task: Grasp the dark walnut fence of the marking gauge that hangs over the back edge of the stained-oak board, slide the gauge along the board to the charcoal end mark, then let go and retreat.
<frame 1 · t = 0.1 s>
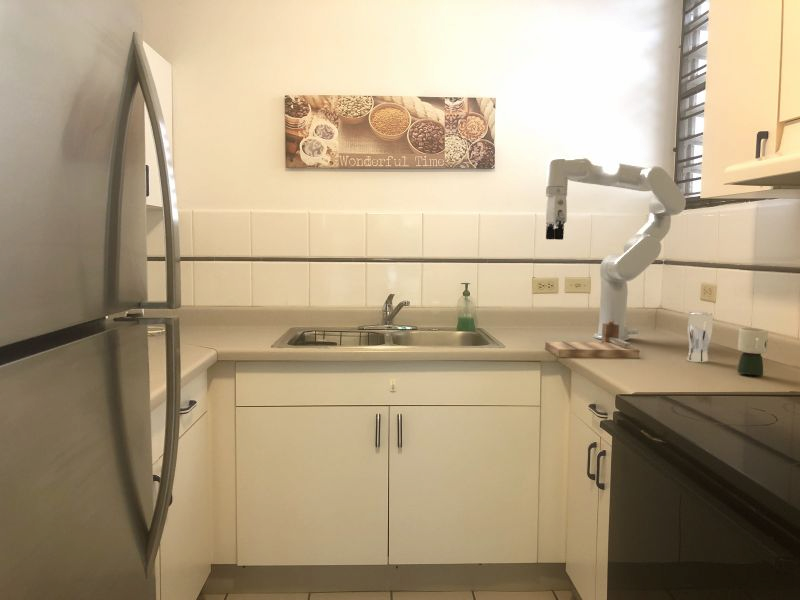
hand: (554, 239, 230), 37 cm above the table, tool pointing down, fingers open, 9 cm apart
oak board: (590, 353, 204), on the table
marking gauge: (617, 337, 206), point 5 cm above the table, slide at 0.0 cm
beer glass: (697, 361, 195), on the table
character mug: (750, 375, 175), on the table
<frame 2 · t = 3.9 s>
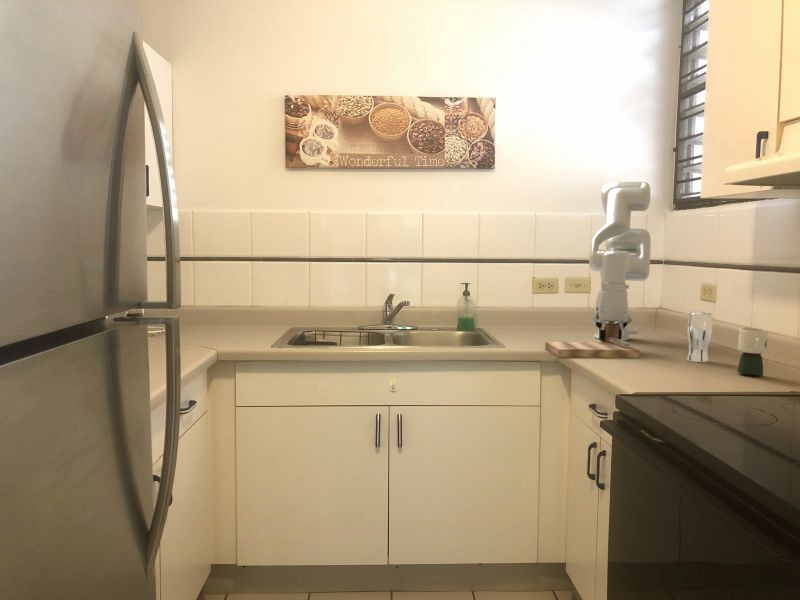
hand: (609, 340, 213), 3 cm above the table, tool pointing down, fingers closed on marking gauge, 4 cm apart
marking gauge: (617, 337, 206), point 5 cm above the table, slide at 0.0 cm, touching gripper
everything else where it was.
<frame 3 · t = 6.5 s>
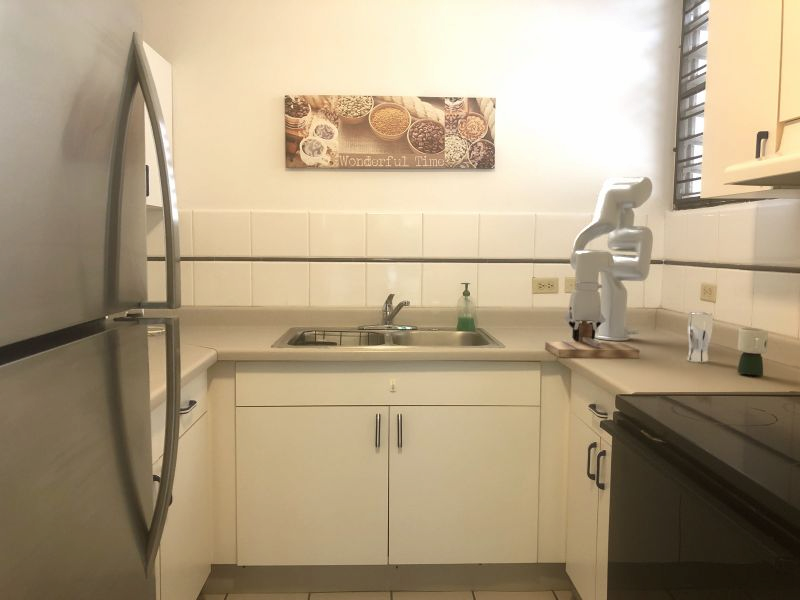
hand: (583, 340, 212), 3 cm above the table, tool pointing down, fingers closed on marking gauge, 4 cm apart
marking gauge: (590, 337, 206), point 5 cm above the table, slide at 9.3 cm, touching gripper
everything else where it was.
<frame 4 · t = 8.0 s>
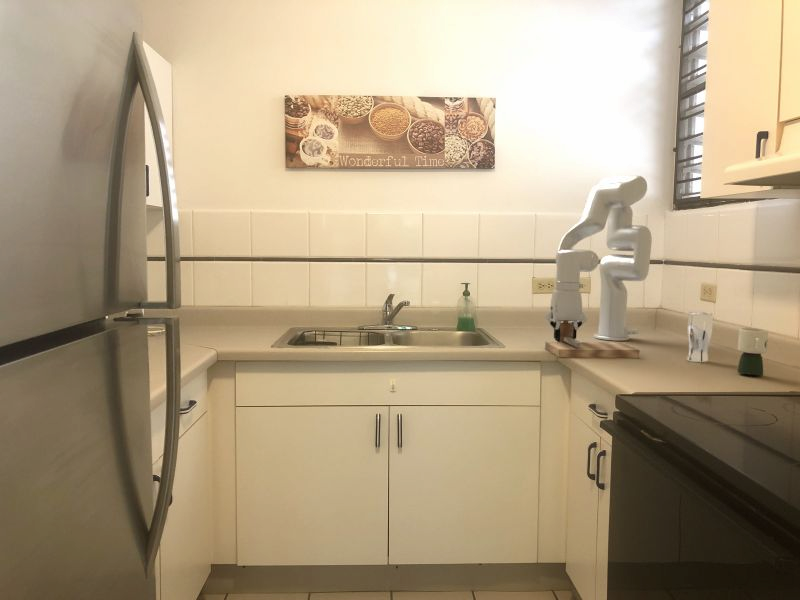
hand: (564, 340, 212), 3 cm above the table, tool pointing down, fingers closed on marking gauge, 4 cm apart
marking gauge: (571, 336, 205), point 5 cm above the table, slide at 15.7 cm, touching gripper
everything else where it was.
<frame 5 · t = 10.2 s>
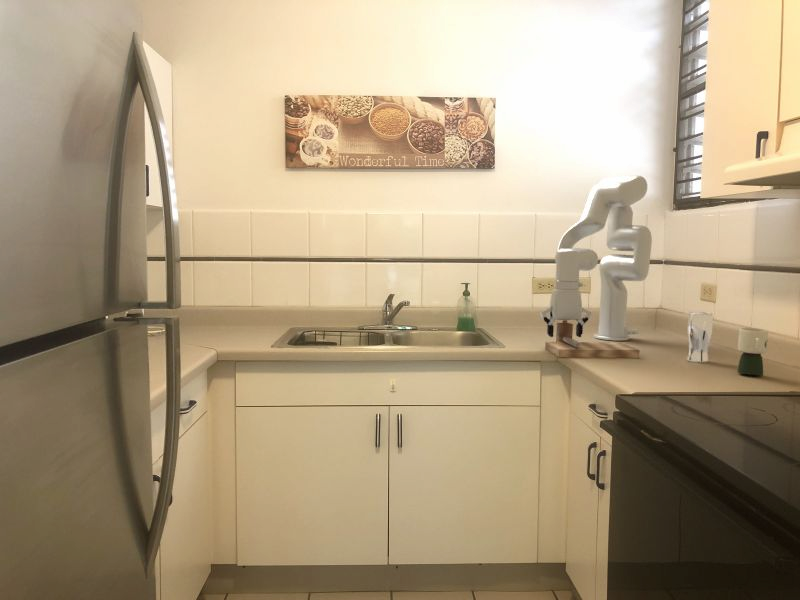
hand: (564, 336, 212), 4 cm above the table, tool pointing down, fingers open, 9 cm apart
marking gauge: (570, 336, 205), point 5 cm above the table, slide at 16.0 cm
everything else where it was.
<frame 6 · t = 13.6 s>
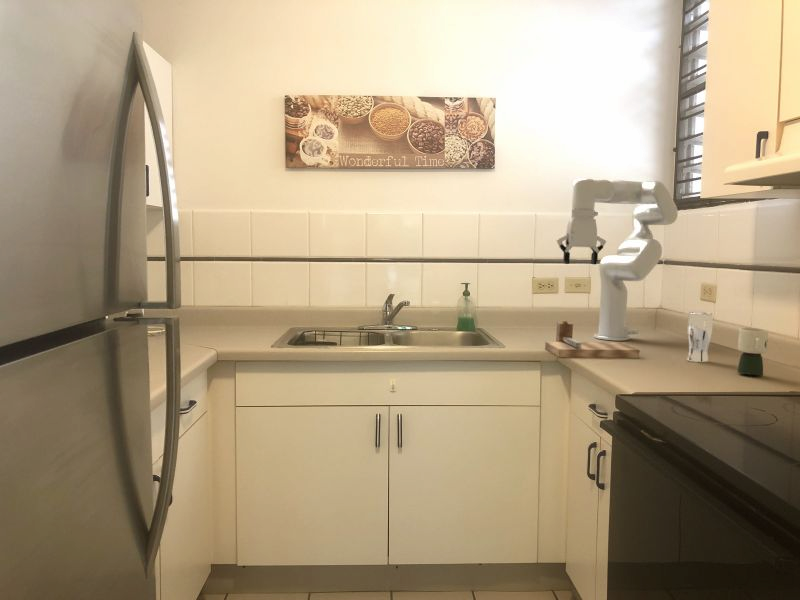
hand: (580, 263, 220), 28 cm above the table, tool pointing down, fingers open, 9 cm apart
nothing on the table moved.
at the end: marking gauge slide at 16.0 cm; the gripper is holding nothing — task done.
